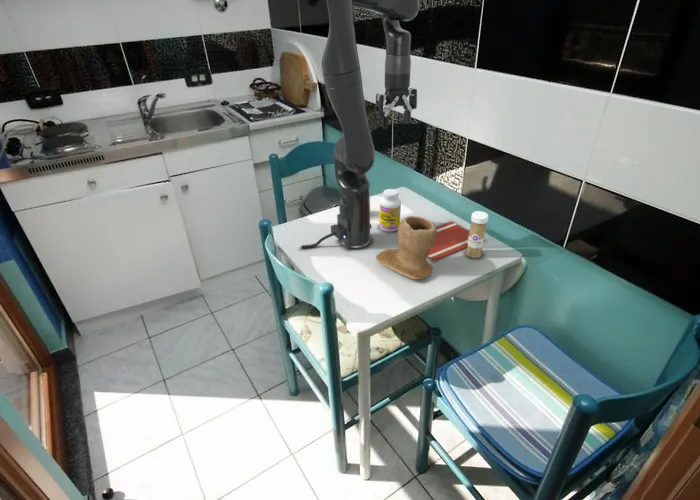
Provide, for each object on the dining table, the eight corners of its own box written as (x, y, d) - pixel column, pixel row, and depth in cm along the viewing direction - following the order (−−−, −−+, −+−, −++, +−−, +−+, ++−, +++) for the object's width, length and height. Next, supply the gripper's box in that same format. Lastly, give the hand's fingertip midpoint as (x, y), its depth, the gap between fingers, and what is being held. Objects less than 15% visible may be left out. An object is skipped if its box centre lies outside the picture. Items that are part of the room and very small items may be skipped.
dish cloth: (433, 261, 121) (433, 259, 121) (403, 240, 131) (404, 238, 131) (482, 240, 129) (483, 239, 129) (451, 222, 140) (451, 221, 139)
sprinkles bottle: (465, 257, 122) (471, 217, 115) (465, 249, 126) (471, 209, 118) (482, 259, 121) (489, 218, 114) (481, 251, 125) (488, 211, 117)
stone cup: (441, 268, 118) (447, 222, 110) (415, 287, 111) (419, 239, 103) (400, 248, 127) (402, 204, 119) (373, 264, 120) (374, 219, 112)
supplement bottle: (376, 230, 136) (377, 194, 129) (383, 221, 142) (383, 186, 135) (396, 233, 134) (397, 197, 127) (402, 224, 139) (403, 189, 132)
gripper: (385, 75, 117) (384, 132, 126) (424, 69, 123) (420, 124, 132) (370, 71, 122) (370, 126, 131) (408, 66, 128) (406, 119, 137)
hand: (395, 125), depth 131 cm, fingers open, 8 cm apart
